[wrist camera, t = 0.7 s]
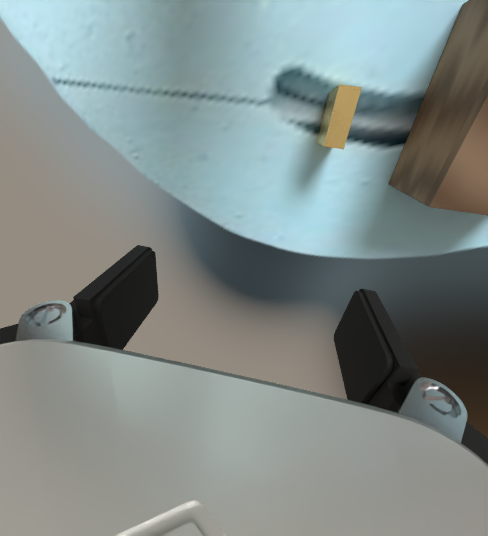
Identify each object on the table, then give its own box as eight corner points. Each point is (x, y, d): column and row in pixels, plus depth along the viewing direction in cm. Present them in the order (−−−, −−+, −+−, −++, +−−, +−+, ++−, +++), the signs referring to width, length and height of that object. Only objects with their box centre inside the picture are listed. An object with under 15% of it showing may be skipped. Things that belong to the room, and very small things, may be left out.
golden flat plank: (328, 92, 26) (339, 84, 21) (346, 94, 26) (361, 87, 21) (316, 143, 29) (323, 146, 24) (333, 145, 29) (343, 149, 24)
